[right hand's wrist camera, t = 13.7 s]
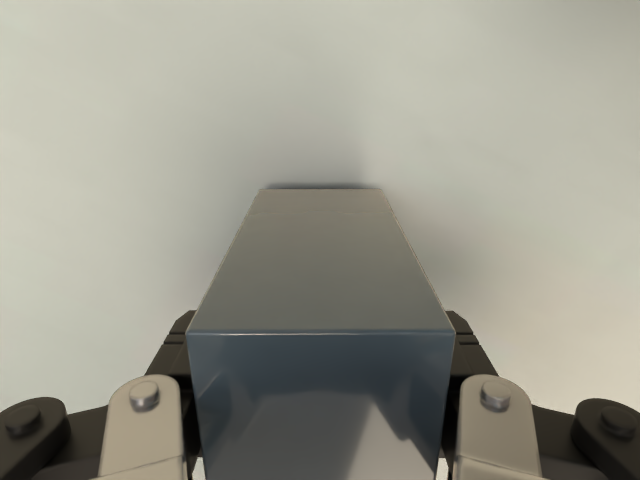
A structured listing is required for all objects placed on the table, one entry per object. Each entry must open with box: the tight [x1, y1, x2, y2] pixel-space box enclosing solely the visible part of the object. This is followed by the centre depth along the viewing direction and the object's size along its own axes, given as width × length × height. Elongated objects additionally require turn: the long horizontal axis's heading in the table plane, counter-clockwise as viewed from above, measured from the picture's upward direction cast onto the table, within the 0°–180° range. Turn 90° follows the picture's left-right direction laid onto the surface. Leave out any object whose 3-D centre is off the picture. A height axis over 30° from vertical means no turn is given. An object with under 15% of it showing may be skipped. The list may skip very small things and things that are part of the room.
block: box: [185, 189, 456, 480], centre depth 13 cm, size 5×5×10 cm
